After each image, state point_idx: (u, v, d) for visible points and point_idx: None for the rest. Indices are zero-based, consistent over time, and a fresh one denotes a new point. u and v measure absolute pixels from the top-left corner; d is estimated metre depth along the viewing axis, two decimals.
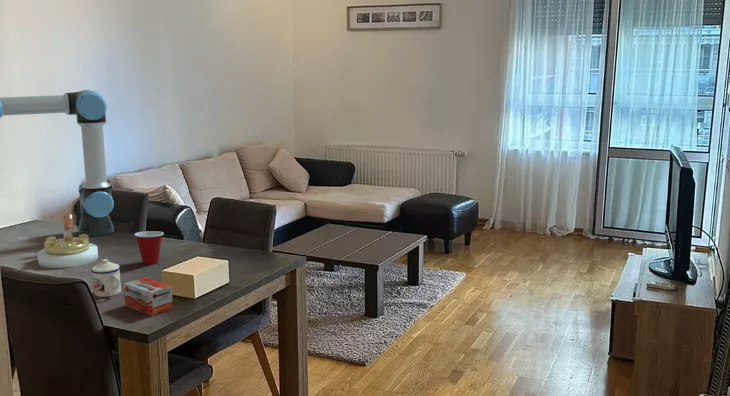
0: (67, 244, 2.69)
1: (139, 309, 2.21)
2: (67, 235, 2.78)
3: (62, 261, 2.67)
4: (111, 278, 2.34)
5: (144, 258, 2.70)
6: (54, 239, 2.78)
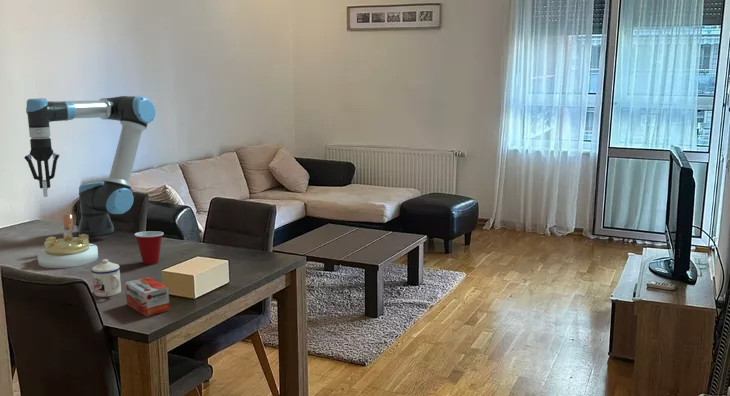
0: (67, 244, 2.69)
1: (137, 309, 2.21)
2: (67, 235, 2.78)
3: (62, 261, 2.67)
4: (111, 278, 2.34)
5: (144, 258, 2.70)
6: (54, 239, 2.78)
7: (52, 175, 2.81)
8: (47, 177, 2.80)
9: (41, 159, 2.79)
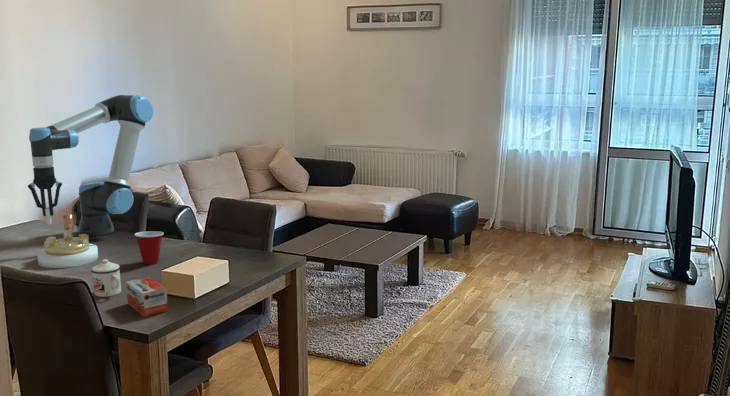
0: (67, 244, 2.69)
1: (136, 308, 2.21)
2: (67, 235, 2.78)
3: (62, 261, 2.67)
4: (111, 278, 2.34)
5: (144, 258, 2.70)
6: (54, 239, 2.78)
7: (55, 203, 2.83)
8: (50, 205, 2.83)
9: (44, 187, 2.81)
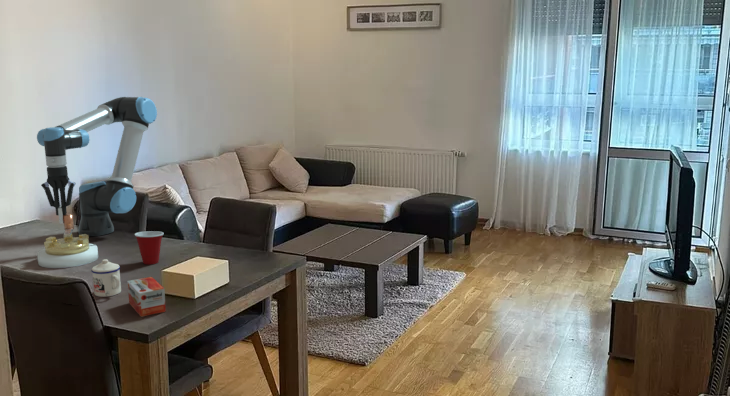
0: (67, 244, 2.69)
1: (135, 308, 2.21)
2: (67, 235, 2.78)
3: (62, 261, 2.67)
4: (111, 278, 2.34)
5: (144, 258, 2.70)
6: (54, 239, 2.78)
7: (67, 203, 2.84)
8: (62, 205, 2.84)
9: (57, 187, 2.83)
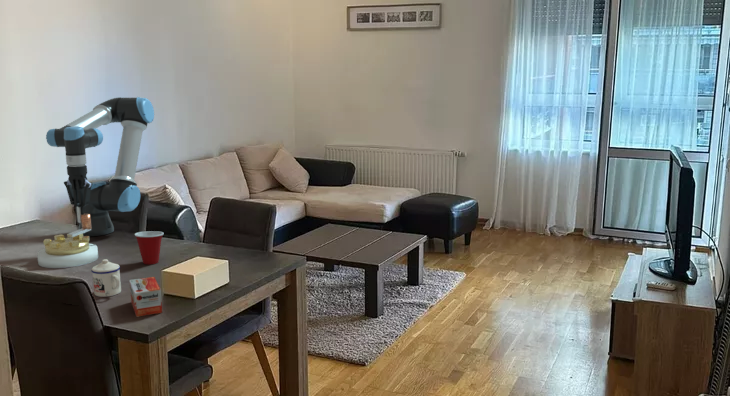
0: (54, 245, 2.68)
1: None
2: (70, 235, 2.78)
3: (62, 261, 2.67)
4: (111, 278, 2.34)
5: (144, 258, 2.70)
6: (61, 237, 2.80)
7: (83, 202, 2.84)
8: (80, 204, 2.85)
9: (76, 186, 2.84)
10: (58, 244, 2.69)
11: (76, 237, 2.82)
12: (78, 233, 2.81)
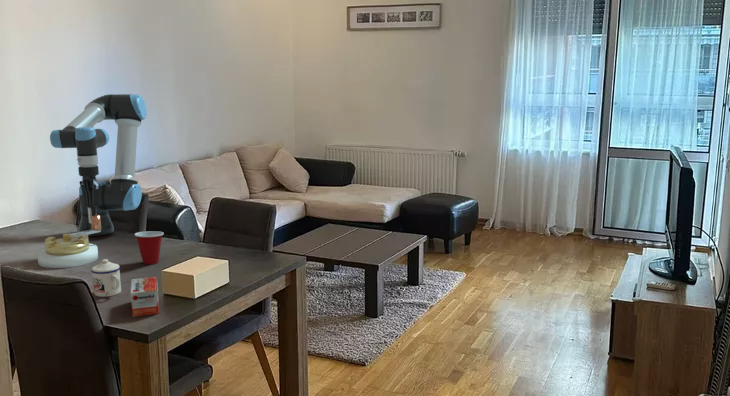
0: (47, 244, 2.69)
1: None
2: (71, 235, 2.77)
3: (62, 261, 2.67)
4: (111, 278, 2.34)
5: (144, 258, 2.70)
6: (68, 236, 2.82)
7: (92, 204, 2.82)
8: (90, 205, 2.83)
9: (87, 186, 2.83)
10: (51, 244, 2.70)
11: (80, 238, 2.80)
12: (81, 234, 2.79)
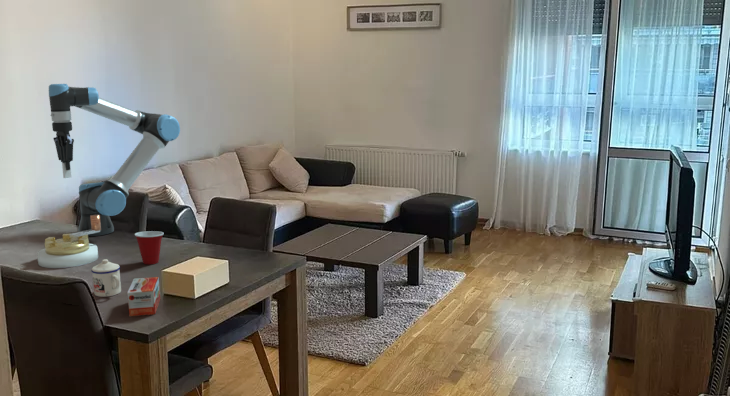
0: (47, 244, 2.69)
1: None
2: (71, 235, 2.77)
3: (62, 261, 2.67)
4: (111, 278, 2.34)
5: (144, 258, 2.70)
6: (68, 236, 2.81)
7: (66, 158, 2.91)
8: (64, 160, 2.92)
9: (61, 142, 2.92)
10: (52, 244, 2.70)
11: (80, 238, 2.81)
12: (81, 234, 2.80)
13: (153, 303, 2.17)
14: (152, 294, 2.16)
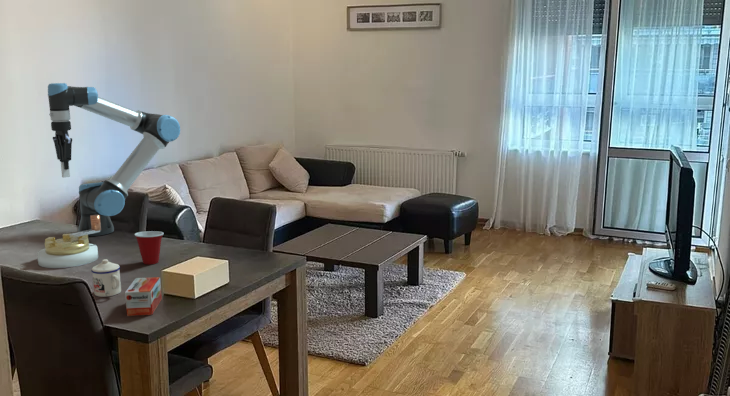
0: (47, 244, 2.69)
1: None
2: (71, 235, 2.77)
3: (62, 261, 2.67)
4: (111, 278, 2.34)
5: (144, 258, 2.70)
6: (68, 236, 2.81)
7: (64, 158, 2.91)
8: (62, 159, 2.92)
9: None
10: (52, 244, 2.70)
11: (80, 238, 2.81)
12: (81, 234, 2.80)
13: (150, 304, 2.16)
14: (149, 294, 2.16)
